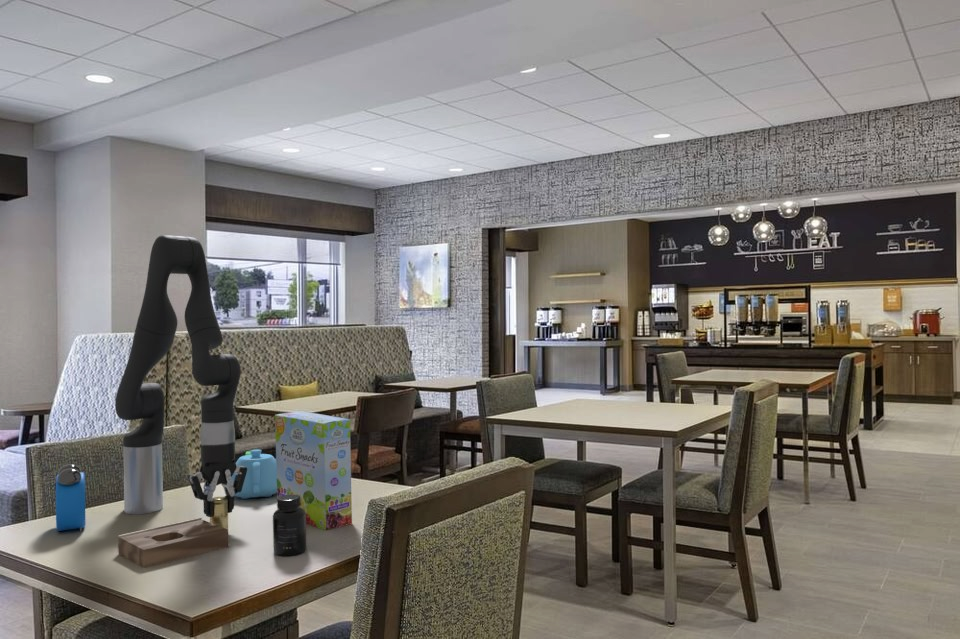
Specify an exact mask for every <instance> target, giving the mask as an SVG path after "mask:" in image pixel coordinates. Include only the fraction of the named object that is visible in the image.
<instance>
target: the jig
mask: <svg viewBox="0 0 960 639" xmlns="http://www.w3.org/2000/svg"><path fill="white" fill-rule="evenodd" d="M117 539H118V541H117V542H118V544H117V548H118V555H119V556H121V557H123V558H125V559H127V560H129V561H130V562H132V563H134V564H136V565H138V566H139V567H142V568H144V569H145V568H149V567H152V566H157V565H161V564H164V563H165V564H166V563H169V562H172V561H173V562H174V561H176V560H177V561H178V560H180V559H185V558H189V557H192V556H193V557H194V556H197V555H200V554H201V555H202V554H205V553H209V552H214V551H219V550H221V549H225V548H229V529H228V530H227V529H225V528H222V527H220V526H217V525H215V524H212V523H210V521H208V520H205V519H202V517H197V518H193V519H188V520H183V521H178V522H175V523H169V524H164V525H160V526H156V527H150V528H146V529H145V528H144V529H142V530H137V531H132V532H127V533H122V534H120V535H119V534H118V535H117Z"/></svg>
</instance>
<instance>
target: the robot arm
mask: <svg viewBox="0 0 960 639" xmlns="http://www.w3.org/2000/svg"><path fill="white" fill-rule="evenodd" d="M171 274H174V275H175V274H176V275H187V276H188V278H189V281H190V284H191V290H190V295H189V298H188V301H187V303H186V306H185V308H184V309H185V310H184V323H185V328H186V330H187V333H188V334H187V335H188V337H189V340H190V342H191V343H190V344H191V373H192V377H193V379H194V380H195V381H196V383H197V384H199V385H200V386H203V387H209V386H210V387H212V386H218V387H217V389H216V391H215V392H214V393H212V394H210V395H207V396H205V397H203V398H202V400H201V405H200V411H201V424H200V463H201V465H200V469H199V471H197V472H196V473H194V474H192V473H191V474H189V475H188V476H187V479H188V482H189V484H190V487H191V491H192V493H193V496H194V498H195V499H198V500H200V501H203V513H204V515H205V516H206V517H207V518H210V517H213V501H212V498H214V497H213V496H214V492H215V491H216V488H217V486H219V485H221V486H222V488H223V491H224V495H225V496H224V497H228V514H231V513H232V512H233V510H234V509H235V494H236V493H238V492H241V491H242V487H243V484H244V480H245V477H246V473H247V468H246V467H243V466H236V461H235V459H236V433H235V432H236V429H235V423H234V402H235V398H236V394H237V390H238V386H239V383H240V379H241V373H242V372H241V371H242V370H241V369H242V368H241V364H240V361H239V359H238V358H237V357H236V356H235V355H234V354H229V353H226V354H225V353H224V354H211V353H210V351H212V350H214V349H216V348H218V347H219V346H221V345H222V344H223V340H224V339H223V338H224V337H223V333H222V331H221V327H220V325H219V321H218V318H217V315H216V313H215V309H214V304H213V300H212V296H211V294H212V293H211V285H210V280H209V273H208V266H207V260H206V254H205V252H204V247H203V245H202V243H201V242H200V240H199V239H197V238H195V237H192V236H191V237H190V236H185V235H184V236H183V235H169V234H168V235H167V234H163V235H162V234H161V235H159V236H157V237H156V238H155V240H154V242H153V244H152V247H151V252H150V256H149V263H148V269H147V276H146V277H147V278H146V284H145V290H144V294H143V299H142V303H141V307H140V310H139V314H138V317H137V322H136V326H135V329H134V334H133V339H132V344H131V348H130V352H129V357H128V360H127V363H126V366H125V369H124V372H123V375H122V376H121V380H120V382H119V386H118V388H117V392H116V396H115V402H114V404H115V405H114V408H115V412H116V415H117V417H118V418H119V419H120V420H123V421H135V420H142V422H141V424H140V425H138V426H137V427H136V428H135V429H133V430H131V431H129V432H127V433H125V434H124V435H123V438H122V439H123V440H122V442H123V444H122V446H123V448H122V449H123V492H124V493H123V500H124V502H123V504H124V505H123V507H124V508H123V510H124V511H123V512H124V513H125V514H128V515H144V514H151V513H156V512H159V511H161V510H163V509H164V508H163V507H164V505H163V504H164V503H163V502H164V495H163V494H164V493H163V492H164V489H163V486H164V484H163V482H164V481H163V437H164V436H163V435H164V430H165V429H164V428H165V424H164V423H165V420H164V419H165V407H166V406H165V393H164V390H163V388H162V386H161V385H160V384H159V383H156V382H146V383H145V382H144V381H145V378H146V377H147V375H148V373H150V371H151V370H152V369H153V368H154V367H155V366H156V365H157V364H158V363H159V362H160V361H161V360H162V359H163V358H164V357H165V356H166V355H167V353H169V351H170V349H171V347H172V346H173V342H174V340H175V335H176V332H177V329H178V317H177V314H176V312H175V310H174V307H173V305H172V302H171V300H170V298H169V295H168V282H169V278H170V275H171ZM234 472H235V474H236V476H235V480H234V483H233V482H232V478H231V477H232V475H233V473H234ZM202 478H203V480H204V484H203V488H202V485H201V481H202Z"/></svg>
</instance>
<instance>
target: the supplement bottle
mask: <svg viewBox="0 0 960 639" xmlns="http://www.w3.org/2000/svg"><path fill="white" fill-rule="evenodd" d="M276 500H277V502H276V508H277V507H278V510H277V509H276V510H275V511H274V512H273V514H272V538H273V539H272V540H273V546H272V547H273V555H274V556H277V557H282V558H283V557H284V558H288V557H289V558H291V557H296V556H300V555H303V554H305V553H306V552H307V547H308V546H307V543H308V542H307V524H306V512H305V511H304V509H302V508H301V507H300V506H301V497H300V496H299V495H284V496H280V497H278V498H277V497H276Z"/></svg>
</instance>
